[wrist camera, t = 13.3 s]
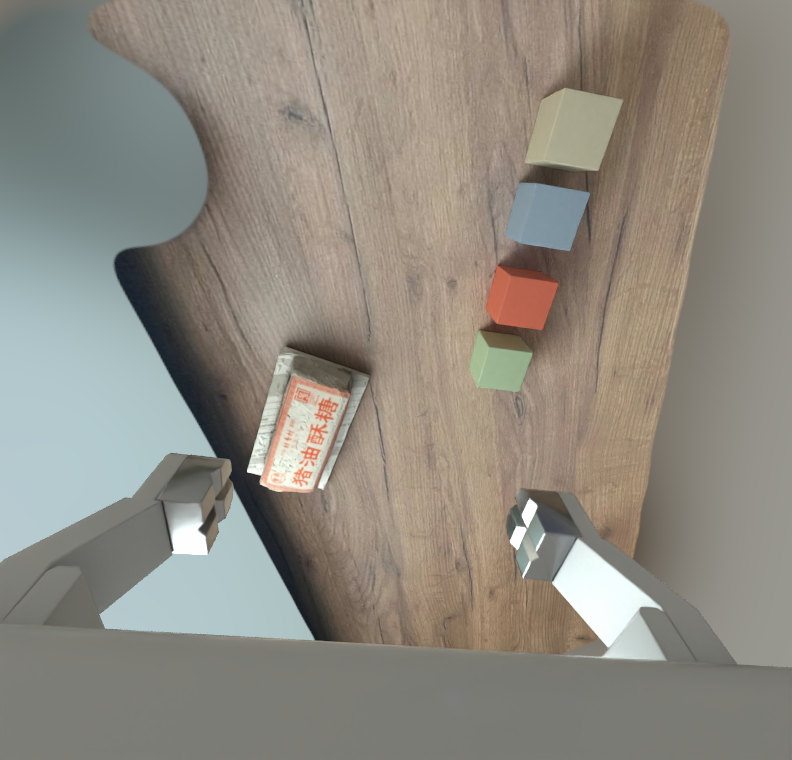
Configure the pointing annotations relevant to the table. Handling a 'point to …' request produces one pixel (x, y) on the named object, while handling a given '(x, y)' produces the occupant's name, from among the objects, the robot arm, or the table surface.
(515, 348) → the sage block
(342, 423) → the packaged product
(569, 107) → the cream block
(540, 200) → the blue-grey block
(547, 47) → the table surface
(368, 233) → the table surface
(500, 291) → the coral block
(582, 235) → the table surface
